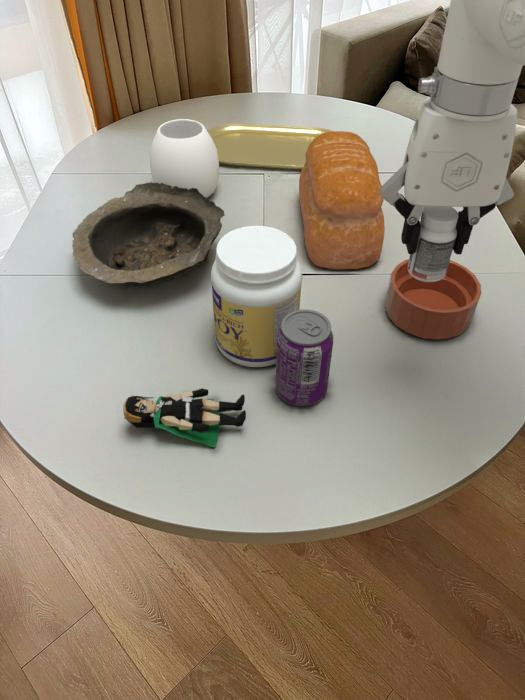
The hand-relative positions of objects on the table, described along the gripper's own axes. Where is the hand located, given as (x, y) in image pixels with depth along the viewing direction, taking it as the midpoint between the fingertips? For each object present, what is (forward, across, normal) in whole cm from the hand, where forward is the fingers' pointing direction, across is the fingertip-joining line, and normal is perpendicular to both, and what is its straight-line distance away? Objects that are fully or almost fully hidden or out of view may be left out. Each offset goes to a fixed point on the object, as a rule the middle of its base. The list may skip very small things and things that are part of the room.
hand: (432, 246), depth 67 cm
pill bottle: (+4, 0, 0) cm, 4 cm away
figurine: (+20, -30, -12) cm, 38 cm away
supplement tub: (+20, -21, +4) cm, 29 cm away
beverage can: (+20, -15, -6) cm, 26 cm away
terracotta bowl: (+20, +6, +10) cm, 23 cm away
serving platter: (+19, -18, +64) cm, 69 cm away
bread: (+20, -7, +34) cm, 39 cm away
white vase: (+19, -36, +45) cm, 61 cm away
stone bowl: (+20, -40, +22) cm, 49 cm away
